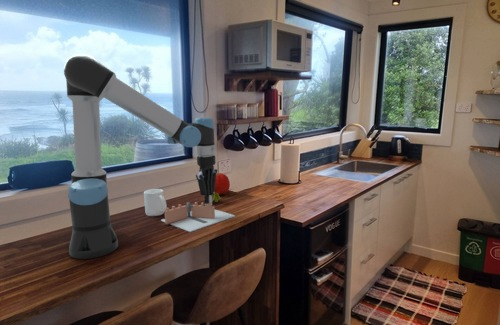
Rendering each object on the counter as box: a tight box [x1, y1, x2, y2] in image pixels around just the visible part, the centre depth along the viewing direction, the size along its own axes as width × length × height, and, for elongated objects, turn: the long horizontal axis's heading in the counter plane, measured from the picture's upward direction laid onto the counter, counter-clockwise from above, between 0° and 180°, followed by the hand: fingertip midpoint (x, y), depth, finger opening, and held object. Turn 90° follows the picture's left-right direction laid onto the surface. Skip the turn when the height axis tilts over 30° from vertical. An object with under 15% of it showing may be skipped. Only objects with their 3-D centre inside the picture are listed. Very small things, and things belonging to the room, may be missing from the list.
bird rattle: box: [212, 192, 222, 203], centre depth 169 cm, size 6×11×9 cm
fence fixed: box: [164, 201, 191, 225], centre depth 144 cm, size 12×1×7 cm, turn 136°
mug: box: [143, 188, 167, 217], centre depth 154 cm, size 12×8×10 cm
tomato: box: [215, 172, 231, 196], centre depth 185 cm, size 13×14×12 cm
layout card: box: [160, 209, 236, 233], centre depth 147 cm, size 25×20×1 cm
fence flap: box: [190, 201, 216, 218], centre depth 147 cm, size 10×2×6 cm, turn 77°
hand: (208, 210), depth 148 cm, fingers closed
